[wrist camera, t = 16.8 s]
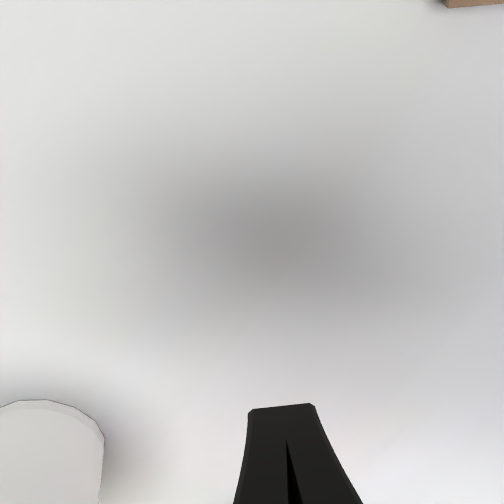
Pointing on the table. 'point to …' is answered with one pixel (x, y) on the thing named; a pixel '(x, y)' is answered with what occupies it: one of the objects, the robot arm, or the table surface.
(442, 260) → the table surface
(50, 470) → the foam cup
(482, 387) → the table surface
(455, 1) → the walnut domino
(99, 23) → the table surface
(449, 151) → the table surface
